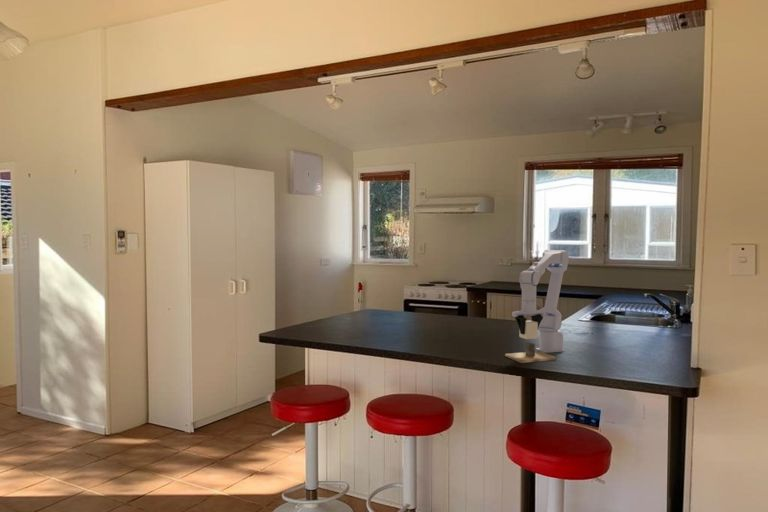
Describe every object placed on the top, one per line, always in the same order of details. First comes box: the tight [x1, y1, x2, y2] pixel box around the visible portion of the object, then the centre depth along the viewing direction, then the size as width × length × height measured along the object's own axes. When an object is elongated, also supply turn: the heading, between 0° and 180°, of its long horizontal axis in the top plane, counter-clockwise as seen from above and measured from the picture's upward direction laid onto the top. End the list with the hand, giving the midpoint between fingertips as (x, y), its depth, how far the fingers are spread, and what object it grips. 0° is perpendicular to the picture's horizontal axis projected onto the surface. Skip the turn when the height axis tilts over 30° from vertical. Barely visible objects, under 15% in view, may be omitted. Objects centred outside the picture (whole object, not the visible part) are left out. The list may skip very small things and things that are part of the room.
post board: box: [504, 342, 557, 364], centre depth 222 cm, size 16×12×6 cm
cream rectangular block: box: [518, 319, 539, 340], centre depth 222 cm, size 5×5×7 cm
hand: (528, 333), depth 222 cm, fingers closed on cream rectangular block, 5 cm apart
